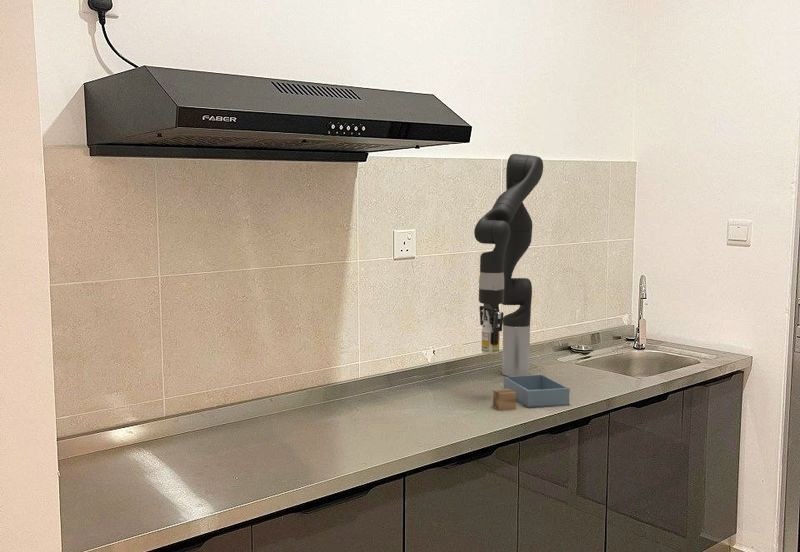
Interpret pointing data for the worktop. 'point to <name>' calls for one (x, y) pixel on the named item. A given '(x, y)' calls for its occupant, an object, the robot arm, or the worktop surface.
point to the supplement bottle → (486, 338)
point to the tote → (537, 391)
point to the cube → (504, 399)
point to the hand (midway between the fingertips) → (490, 342)
